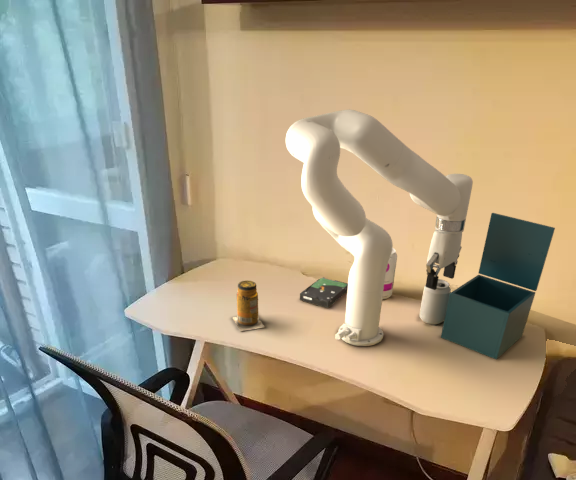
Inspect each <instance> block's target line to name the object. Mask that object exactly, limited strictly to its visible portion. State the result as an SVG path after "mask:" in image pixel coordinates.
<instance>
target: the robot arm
mask: <svg viewBox="0 0 576 480" xmlns="http://www.w3.org/2000/svg"><path fill="white" fill-rule="evenodd" d="M285 146H286V150H287V151H288V153H289V154H290V155H291V156H292V157H293V158H295V159H297V160H298V161H300V162H301V163H303V166H302V171H301V179H300V180H301V182H300V183H301V184H300V185H301V186H300V187H301V191H302V193H303V194H302V195H303V196H304V198H305V199H306V201H307V202H308V204H309V205H311V207H312V214H313V217H314V218H315V220H316V221H317V222H318V224H319V225H320V226H321V227H322V229H324V230H325V231H326V232H327V233H328V234H329V235H330V236H331V237H332V238H333V240H335V242H336V243H337V244H339V245H340V246H341V247H342V248H343V249H344V250H346V251H347V252H348V253H349V254H351V255H352V256H353V257H354V261H353V263H352V265H351V267H350V270H349V273H348V279H347V283H348V290H347V292H346V304H345V316H344V323H343V324H341V326H339V328H338V332H336V333H335V334H334V338H335V340H337V341H340V340H342V341H343V342H345V343H346V344H349V345H353V346H358V347H369V346H374V345H377V344H379V343H380V342H381V341H382V340H383V339H384V331H383V329H382V328H381V326H380V320H381V312H382V305H383V299H382V297H383V289H384V280H385V274H386V269H387V265H388V262H389V259H390V256H391V253H392V248H394V247H393V246H394V245H393V244H394V243H393V239H392V237H391V235H390V234H389V233H388V231H387V230H386V229H385V228H383V227H382V226H380V225H379V224H377V223H375V222H374V221H372V220H370V219H368V218H367V215H366V211H365V209H364V207H363V205H362V204H361V203H360V201H358V200H357V198H355V196H354V195H353V194H352V193H351V192H350V191H349V190H348V188H346V186H345V185H344V183H343V182H342V181H341V179H340V178H339V176H338V167H339V166H338V165H339V161H340V157H341V149H343V150H346V151H347V152H350V153H351V154H353V155H354V156H355V157H357V158H358V159H359V160H361V161H362V163H364V164H365V165H367V166H368V167H369V168H371V169H372V170H373V171H374V172H376V173H377V174H378V175H379V176H380V177H382V178H383V179H384V180H386V181H387V182H388V183H390V184H391V185H393V186H395V187H397V188H399V189H401V190H403V191H405V192H407V193H409V197H410V198H411V199H410V200H412V202H413V203H414V204H415V205H417V206H419V207H421V208H423V209H425V210H427V211H429V212H432V213H434V214H435V215H436V219H435V225H434V229H435V230H434V232H433V234H432V237H431V241H430V244H429V249H428V254H427V258H426V265H425V267H426V281H425V285H426V287H427V288H430V289H433V290H436V289H437V284H438V279H440V278H439V273H440V271H441V270H442V269H443V273H442V276H443V277H445V278H448V279H451V280H453V279H454V278H455V274H456V270H457V269H456V268H457V265H458V259H459V258H460V253H461V251H462V241H463V240H462V239H463V232H464V231H465V227H466V221H467V216H468V212H469V211H468V210H469V204H470V200H471V195H472V191H473V190H472V189H473V183H474V181H473V178H472V177H471V176H469V175H467V174H464V173H449V174H447V175H445V174H443V173H442V172H441V171H440V170H439V169H437V168H436V167H434V166H433V165H431V163H429V162H427V160H426V159H424V158H423V157H421V155H419V154H417V153H416V152H415V151H414V150H412V149H411V148H409V147H408V146H407V145H406V144H405V143H404V142H403V141H401V140H400V139H399V138H398V137H397V136H396V135H395V134H394V133H392V132H391V130H389V129H388V128H387V127H386V126H385V125H384V124H383V123H382V122H380V121H379V120H378V119H377V118H375V117H374V116H372V115H370V114H368V113H364V112H362V111H358V110H356V109H342V110H337V111H332V112H327V113H322V114H318V115H313V116H308V117H304V118H301V119H298V120H296V121H294V122H293V123H292V124H291V125H290V126H289V127H288V130H287V131H286V135H285ZM434 268H435V269H436V270H435V269H434Z"/></svg>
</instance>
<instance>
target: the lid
mask: <svg viewBox="0 0 576 480" xmlns="http://www.w3.org/2000/svg"><path fill="white" fill-rule="evenodd" d="M555 230H556V227H554V226H550V225H546V224H542V223H537V222H533V221H529V220H525V219H521V218H517V217H513V216H508V215H504V214H500V213H495V212H491V214H490V218H489V223H488V227H487V232H486V237H485V241H484V246H483V250H482V251H483V252H482V255H481V259H480V264H479V268H478V275H482V276H485V277H488V278H491V279H494V280H497V281H501V282H504V283H507V284H510V285H513V286H517V287H520V288H523V289H526V290H529V291H533V292H537V290H538V287H539V284H540V280H541V277H542V274H543V270H544V268H545V263H546V261H547V257H548V253H549V249H550V246H551V243H552V240H553V237H554V233H555Z"/></svg>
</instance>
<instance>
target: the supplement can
mask: <svg viewBox="0 0 576 480" xmlns="http://www.w3.org/2000/svg"><path fill="white" fill-rule="evenodd" d="M397 261H398V254H397V250H396V248H395V247H393V248H392V253H391V256H390V259H389V262H388V265H387V269H386V274H385V280H384V289H383V297H382V300H387V299H389V298H390V297H391V296H392V295H393V290H394V283H395V275H396V268H397Z"/></svg>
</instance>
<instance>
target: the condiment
mask: <svg viewBox="0 0 576 480" xmlns="http://www.w3.org/2000/svg"><path fill="white" fill-rule="evenodd" d="M258 293H259V292H258V290H257V283H256V282H255V281H252V280H241V281H239V282H238V283H237V292H236V310H237V311H236V312H237V314H236V315H237V316H233V317H232V319H233V321H234V323H235V324H236V326H237V328H238V329H239V331H250V330H256V329H263V328H265V325H264V323H263V322H262V321H261V320H260V317H259V294H258Z"/></svg>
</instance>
